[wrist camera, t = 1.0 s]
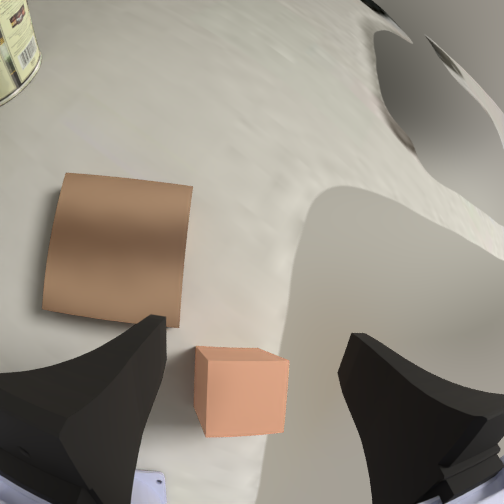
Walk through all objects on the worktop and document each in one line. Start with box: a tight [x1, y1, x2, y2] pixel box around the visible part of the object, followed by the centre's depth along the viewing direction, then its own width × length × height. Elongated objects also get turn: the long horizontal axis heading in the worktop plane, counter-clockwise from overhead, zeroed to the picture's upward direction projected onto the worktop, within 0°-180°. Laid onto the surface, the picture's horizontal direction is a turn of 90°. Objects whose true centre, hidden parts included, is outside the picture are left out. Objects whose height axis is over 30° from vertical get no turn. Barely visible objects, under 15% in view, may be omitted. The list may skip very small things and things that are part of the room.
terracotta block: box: [194, 346, 289, 437], centre depth 19 cm, size 5×5×6 cm
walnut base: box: [42, 173, 193, 328], centre depth 20 cm, size 10×10×3 cm
